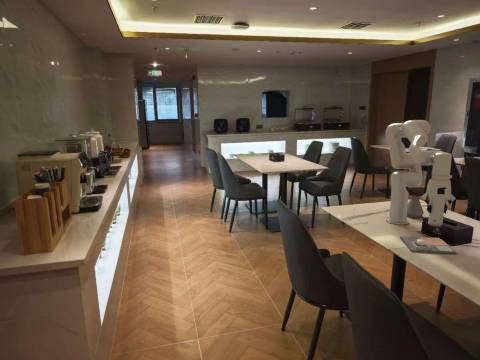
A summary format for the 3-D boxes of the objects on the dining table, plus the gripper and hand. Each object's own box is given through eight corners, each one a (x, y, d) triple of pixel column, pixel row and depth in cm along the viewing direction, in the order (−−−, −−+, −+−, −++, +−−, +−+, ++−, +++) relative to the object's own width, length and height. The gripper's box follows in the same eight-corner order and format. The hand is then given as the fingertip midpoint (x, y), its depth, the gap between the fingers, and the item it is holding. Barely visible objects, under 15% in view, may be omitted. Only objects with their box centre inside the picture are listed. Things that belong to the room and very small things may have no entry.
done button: (415, 242, 168) (415, 238, 168) (423, 242, 167) (424, 239, 167) (418, 245, 164) (418, 241, 164) (426, 246, 164) (427, 242, 163)
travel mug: (435, 227, 167) (440, 188, 163) (425, 223, 173) (429, 185, 169) (445, 226, 169) (450, 187, 165) (435, 222, 175) (439, 184, 171)
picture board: (399, 238, 181) (400, 233, 180) (439, 239, 178) (440, 235, 177) (411, 251, 163) (411, 247, 163) (456, 253, 160) (456, 248, 160)
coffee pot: (426, 218, 212) (429, 195, 209) (408, 218, 212) (410, 195, 209) (411, 208, 233) (413, 187, 229) (394, 209, 233) (396, 187, 230)
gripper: (455, 176, 169) (451, 210, 172) (418, 175, 171) (415, 209, 175) (463, 179, 161) (458, 215, 165) (424, 178, 164) (421, 214, 167)
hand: (436, 212), depth 170 cm, fingers closed on travel mug, 6 cm apart
